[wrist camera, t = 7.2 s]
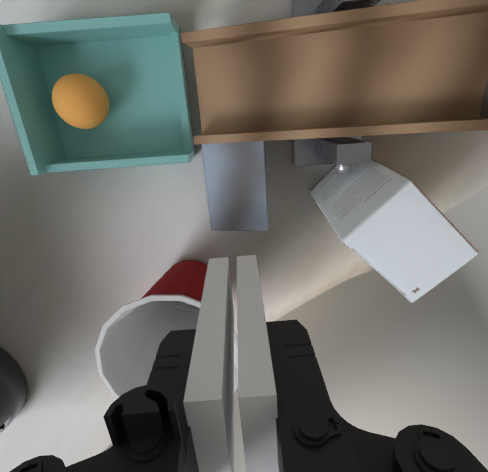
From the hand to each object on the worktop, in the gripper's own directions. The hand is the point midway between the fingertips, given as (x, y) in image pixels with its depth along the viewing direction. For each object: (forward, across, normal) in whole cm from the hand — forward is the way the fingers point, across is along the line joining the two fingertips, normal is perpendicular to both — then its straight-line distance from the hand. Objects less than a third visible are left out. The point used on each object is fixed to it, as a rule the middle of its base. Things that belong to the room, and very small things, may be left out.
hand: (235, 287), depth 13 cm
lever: (+14, +9, +4) cm, 17 cm away
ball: (+16, -11, +8) cm, 21 cm away
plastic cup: (+19, -6, -10) cm, 22 cm away
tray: (+18, -9, +8) cm, 22 cm away
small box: (+18, +12, -2) cm, 22 cm away
